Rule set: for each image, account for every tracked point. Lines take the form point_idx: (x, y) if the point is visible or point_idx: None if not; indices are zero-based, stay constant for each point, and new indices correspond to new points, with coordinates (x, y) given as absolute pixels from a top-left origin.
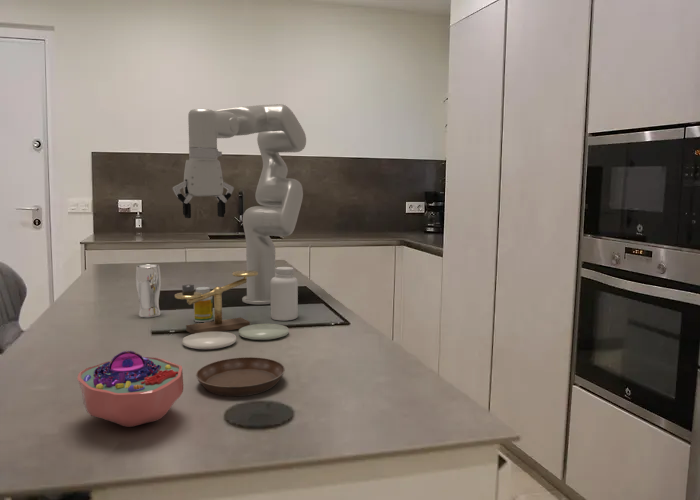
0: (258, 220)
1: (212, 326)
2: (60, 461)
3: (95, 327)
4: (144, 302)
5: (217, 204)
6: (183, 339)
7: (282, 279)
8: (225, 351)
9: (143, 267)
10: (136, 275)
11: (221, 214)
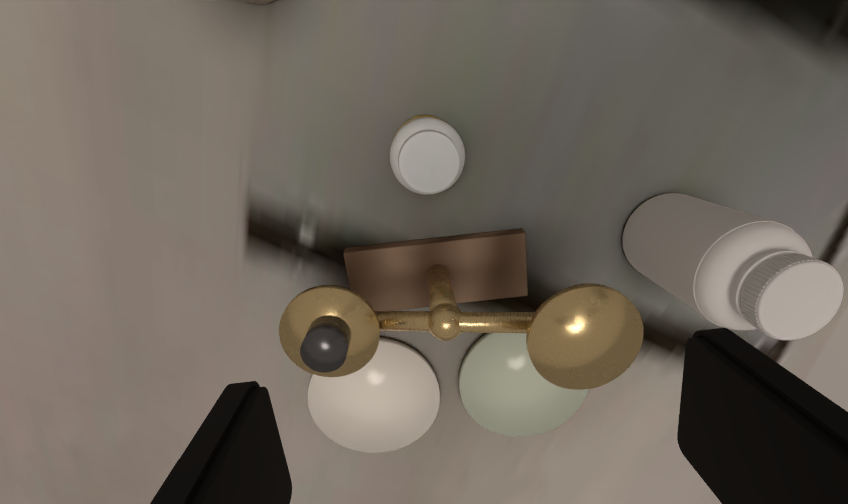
0: None
1: (411, 300)
2: None
3: (63, 69)
4: None
5: (829, 452)
6: (311, 383)
7: (730, 321)
8: (392, 453)
9: None
10: None
11: (693, 461)
